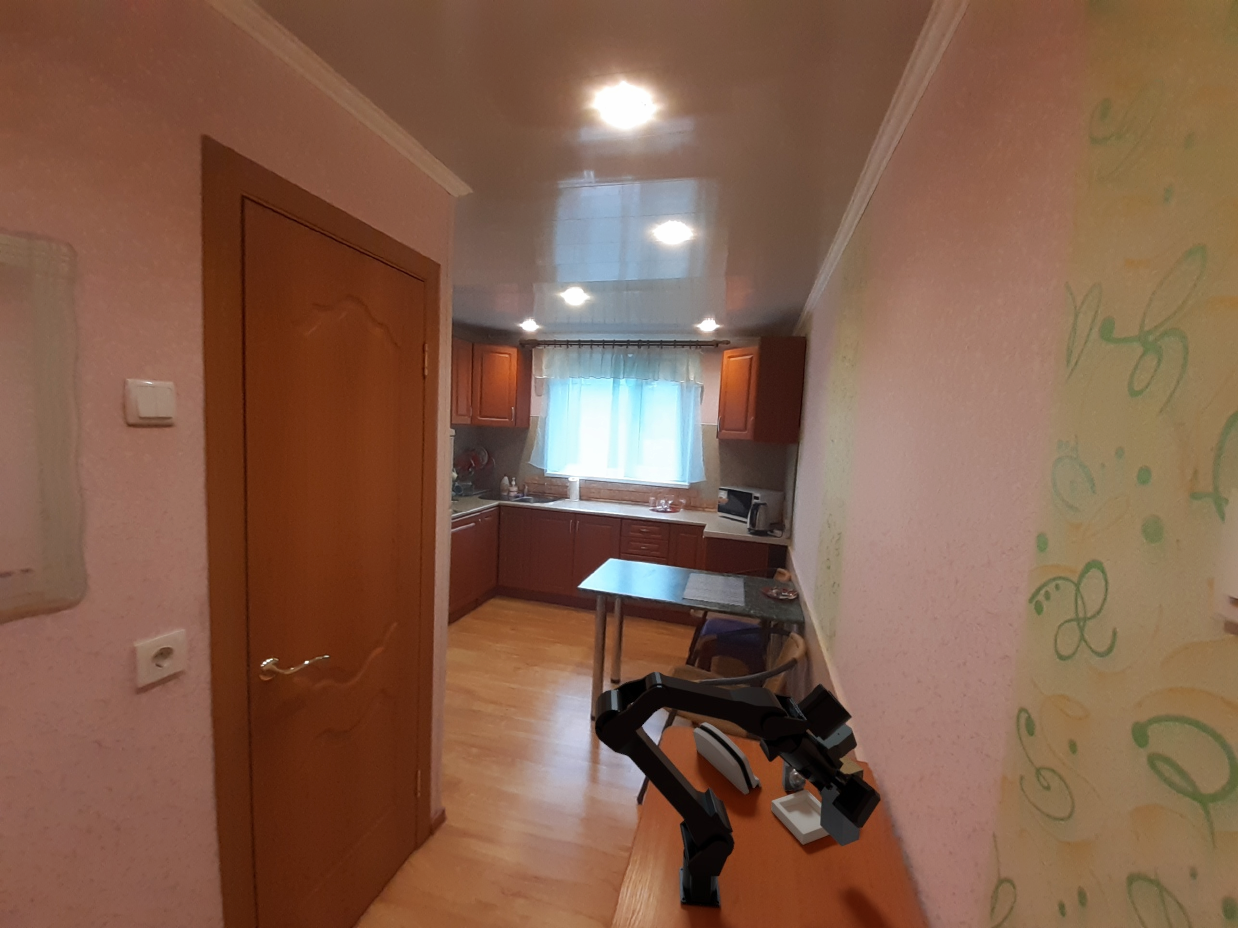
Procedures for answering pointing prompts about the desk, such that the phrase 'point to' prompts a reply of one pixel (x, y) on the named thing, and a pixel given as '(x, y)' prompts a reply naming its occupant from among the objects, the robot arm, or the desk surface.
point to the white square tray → (800, 815)
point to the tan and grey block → (835, 819)
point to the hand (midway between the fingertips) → (847, 794)
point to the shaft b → (792, 779)
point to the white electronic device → (725, 757)
